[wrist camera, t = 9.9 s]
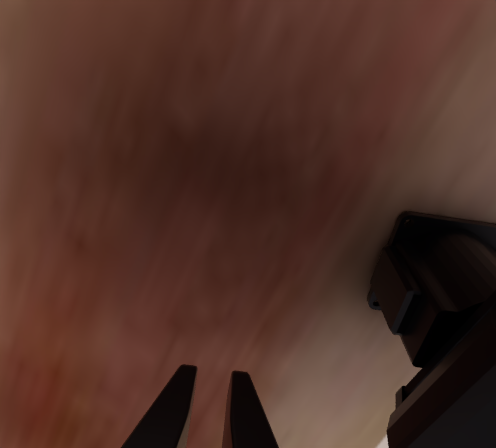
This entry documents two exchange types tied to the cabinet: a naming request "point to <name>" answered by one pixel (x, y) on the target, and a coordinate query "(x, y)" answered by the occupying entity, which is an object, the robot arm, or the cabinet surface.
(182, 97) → the cabinet surface
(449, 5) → the cabinet surface
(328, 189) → the cabinet surface
